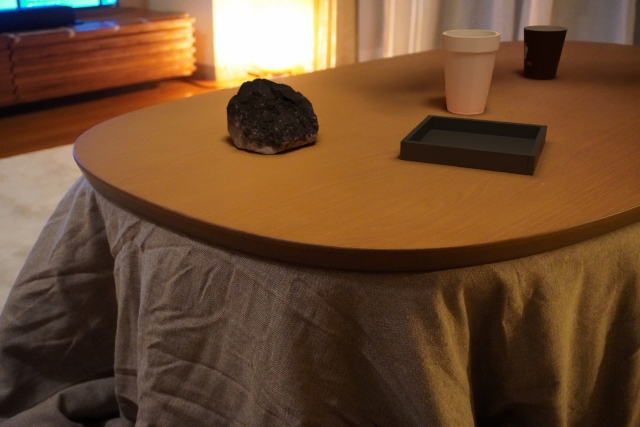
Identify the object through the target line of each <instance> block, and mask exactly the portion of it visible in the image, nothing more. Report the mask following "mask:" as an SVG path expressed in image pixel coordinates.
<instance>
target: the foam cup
mask: <svg viewBox="0 0 640 427" xmlns="http://www.w3.org/2000/svg"><path fill="white" fill-rule="evenodd" d="M501 35H502V34H501V33H500V32H499V31H494V30H489V29H453V30H446V31H444V32H442V35H441V48H442V55H443V57H442V58H443V71H444V84H445V86H444V87H445V101H446V106H447V107H446V110H447V112H449V113H452V114H456V115H469V116H471V115H479V114H482V113H483V112H485V108H486V105H487V101H488V95H489V91H490V86H491V84H492V83H491V82H492V78H493V74H494V69H495V65H496V61H497V56H498V50H500V46H501V38H502V37H501Z"/></svg>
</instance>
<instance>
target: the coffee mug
mask: <svg viewBox="0 0 640 427" xmlns="http://www.w3.org/2000/svg"><path fill="white" fill-rule="evenodd" d="M567 33H568V27H566V26H560V25H547V24H546V25H545V24H544V25H543V24H542V25H541V24H540V25H527V26H523V77H524V78H526V79H531V80H540V81H544V80H545V81H547V80H548V81H549V80H554V79H555V78H556V76H557V73H558V69H559V65H560V61H561V57H562V53H563V48H564V45H565V40H566V37H567Z"/></svg>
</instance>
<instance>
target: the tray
mask: <svg viewBox="0 0 640 427" xmlns="http://www.w3.org/2000/svg"><path fill="white" fill-rule="evenodd" d="M547 133H548V124H547V125H546V124H537V123H536V124H533V123H524V122H514V121H513V122H511V121H502V120H501V121H500V120H491V119H490V120H489V119H480V118H479V119H478V118H469V117H468V118H467V117H457V116H446V115H445V116H444V115H434V114H427V115H426V117H425V118H424V119H422V120H421V122H419V123H418V124H417V125H416V126H415V127H414V128H413V129H412V130H411V131H410V132H409V133H407V135H405V137H403V138H402V139H401V140H400V141H399V142H400V144H399V145H400V146H399V147H400V148H399V160H402V161H411V162H418V163H419V162H420V163H428V164H436V165H443V166H453V167H461V168H470V169H478V170H485V171H486V170H487V171H494V172H503V173H509V174H510V173H511V174H520V175H526V176H527V175H528V176H533V175H535V174H534V173H535V171H536V168H537V166H538V163H539V160H540V157H541V155H542V152H543V150H544V147H545V144H546V141H547V140H546V139H547Z"/></svg>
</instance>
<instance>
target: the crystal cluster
mask: <svg viewBox="0 0 640 427" xmlns="http://www.w3.org/2000/svg"><path fill="white" fill-rule="evenodd" d="M225 109H226V121H227V122H226V123H227V125H226V126H227V132H228V134H229V137H230V138H231V139H232V141H233V145H234V146H236V148H238V149H246V150H248V151H250V152H251V151H252V152H255V153H260V154H265V155H274V154H277V153H280V152H283V151H286V150H290V149H292V148H297V147H299V146H304V145H307V144H311V143H313V142H315V141H316V140H318V136H319V135H318V133H319V129H320V125H319V120H318V115H317V114H316V113H315V111H314V107H313V103H312V102H311V100H309V99H308V97H307V96H305V95H304V94H303V93H302V92H301V91H299V90H298V91H296V90H295V89H294V88H293V87H292V86H291V85H288V84H285V83H283V82H282V83H278V82H275V81H273V80H271V79H267V78H261V77H259V78H258V77H256V78H254V79H253V80H247V81H243V82H242V83H241V84H240V86H239V88H238V90H237V91H236V94H234V95H233V96H232V97H231V98H230V99H229V100H228V102H227V106H226V108H225Z"/></svg>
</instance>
